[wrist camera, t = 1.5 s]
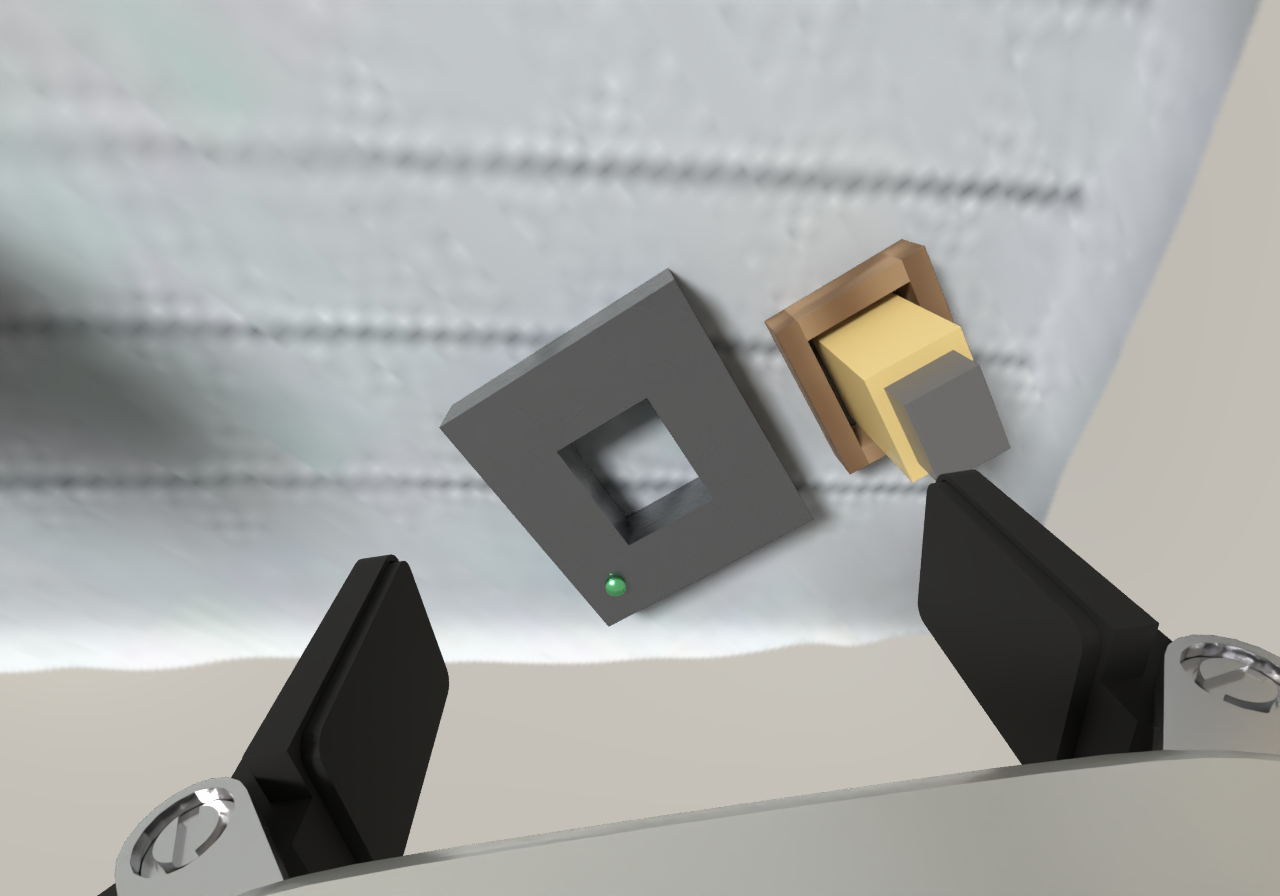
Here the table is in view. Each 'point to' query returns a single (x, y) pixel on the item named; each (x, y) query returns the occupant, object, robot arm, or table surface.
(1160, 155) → the table surface
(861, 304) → the frame
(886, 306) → the plug
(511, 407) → the port
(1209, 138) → the table surface
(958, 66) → the table surface
